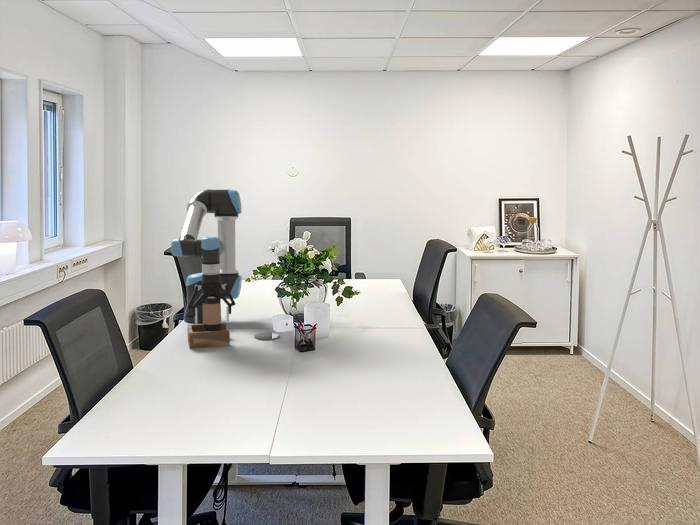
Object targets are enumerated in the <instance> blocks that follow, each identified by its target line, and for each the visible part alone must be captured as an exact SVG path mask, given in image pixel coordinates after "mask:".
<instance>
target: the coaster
mask: <svg viewBox="0 0 700 525" xmlns="http://www.w3.org/2000/svg"><path fill="white" fill-rule="evenodd" d="M272 332H273V331H272ZM272 332H271V331H263V332H258V333H255V334H254V336H253V337H254V339H256V340H259V341H272Z"/></svg>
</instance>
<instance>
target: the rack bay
mask: <svg viewBox="0 0 700 525" xmlns="http://www.w3.org/2000/svg"><path fill="white" fill-rule="evenodd" d="M186 325H187V326H186V327H187V330H186V331H187V343H188V347H189V349H205V348H214V347H217V348H218V347H227V346H229V347H230V344H231V341H230V340H231V339H230V338H231V337H230V336H231V335H230V334H231V332H230V331H231V330H230V329H227V321H226V322H221V330H219V331H204V332H203V323H197V324H195V323H193V324H186Z"/></svg>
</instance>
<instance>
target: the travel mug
mask: <svg viewBox="0 0 700 525" xmlns="http://www.w3.org/2000/svg"><path fill="white" fill-rule="evenodd" d="M221 301H222V299H221V297H220V296H218V295H210V296H209V297H204V298H203V323H202V324H203V332H204V331H219V330H221V323H222V307H221V306H222V304H221V303H222V302H221Z"/></svg>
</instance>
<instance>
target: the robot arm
mask: <svg viewBox="0 0 700 525" xmlns="http://www.w3.org/2000/svg"><path fill="white" fill-rule="evenodd" d="M207 214H214V216H213V217H214V219H216V220H217V236H205V237H202V238H201V239H199V238H198V236H199V233H200V229H201V226H202V222H203V219H204V217H205V216H206V215H207ZM240 214H242V200H241V197H240V193H239V191H237V190H235V189H203V190H201V191H199V192H197V193H196V194H194V195H193V196H192V197H190V200H189V201H188V203H187V206H186V216H185V219H184V222H183V226H182V228H181V231H180V234H179V238H177V239H176V238H175V239H173V240H171V245H170V251H171V255H172V256H173V257H181V258H183V257H199V258H200V257H201V272H198V273H192V274H190V275H188V276H187V277H186V284H185V287H186V307H185V311H184V314H183V321H184V322H186V323H190V324H191V323H193V324H203V298H204V297H209V296H210V295H218V296H220V297H221V301H223V302H224V303H225V304H226V306H225V309H226V310H225V311H226V312H225V313H226V314H225V315H226V318H225V319H226V323H229V322H230V315H231V314H232V307H233V306H236V301H235V300H236V299H238V298H239V297H240V295H241V294H240V293H241V288H242V278H243V277H242V275H239V270H237V269H236V220H237V219H238V218H239V215H240ZM229 300H230V302H229Z"/></svg>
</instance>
